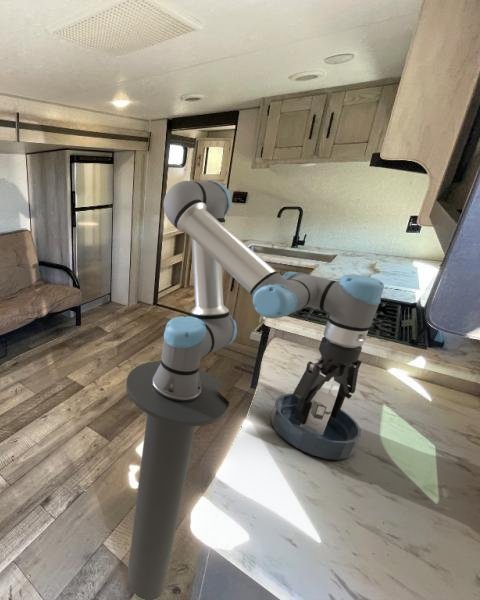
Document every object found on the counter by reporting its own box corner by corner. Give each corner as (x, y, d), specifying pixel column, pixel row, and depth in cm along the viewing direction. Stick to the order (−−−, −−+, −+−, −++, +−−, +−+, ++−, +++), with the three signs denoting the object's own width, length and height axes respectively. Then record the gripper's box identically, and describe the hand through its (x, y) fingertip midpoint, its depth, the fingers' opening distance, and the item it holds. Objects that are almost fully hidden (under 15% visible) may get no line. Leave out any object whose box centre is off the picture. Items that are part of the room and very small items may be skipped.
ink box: (305, 410, 88) (318, 373, 84) (327, 419, 85) (341, 381, 81) (299, 426, 82) (312, 388, 78) (322, 436, 79) (337, 397, 75)
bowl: (255, 415, 91) (260, 398, 89) (307, 406, 96) (312, 390, 93) (311, 468, 75) (319, 448, 73) (371, 455, 79) (380, 436, 77)
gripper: (318, 353, 69) (292, 434, 77) (395, 344, 74) (363, 421, 82) (290, 337, 76) (268, 414, 84) (362, 330, 81) (335, 402, 89)
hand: (315, 417), depth 83 cm, fingers closed on ink box, 9 cm apart
